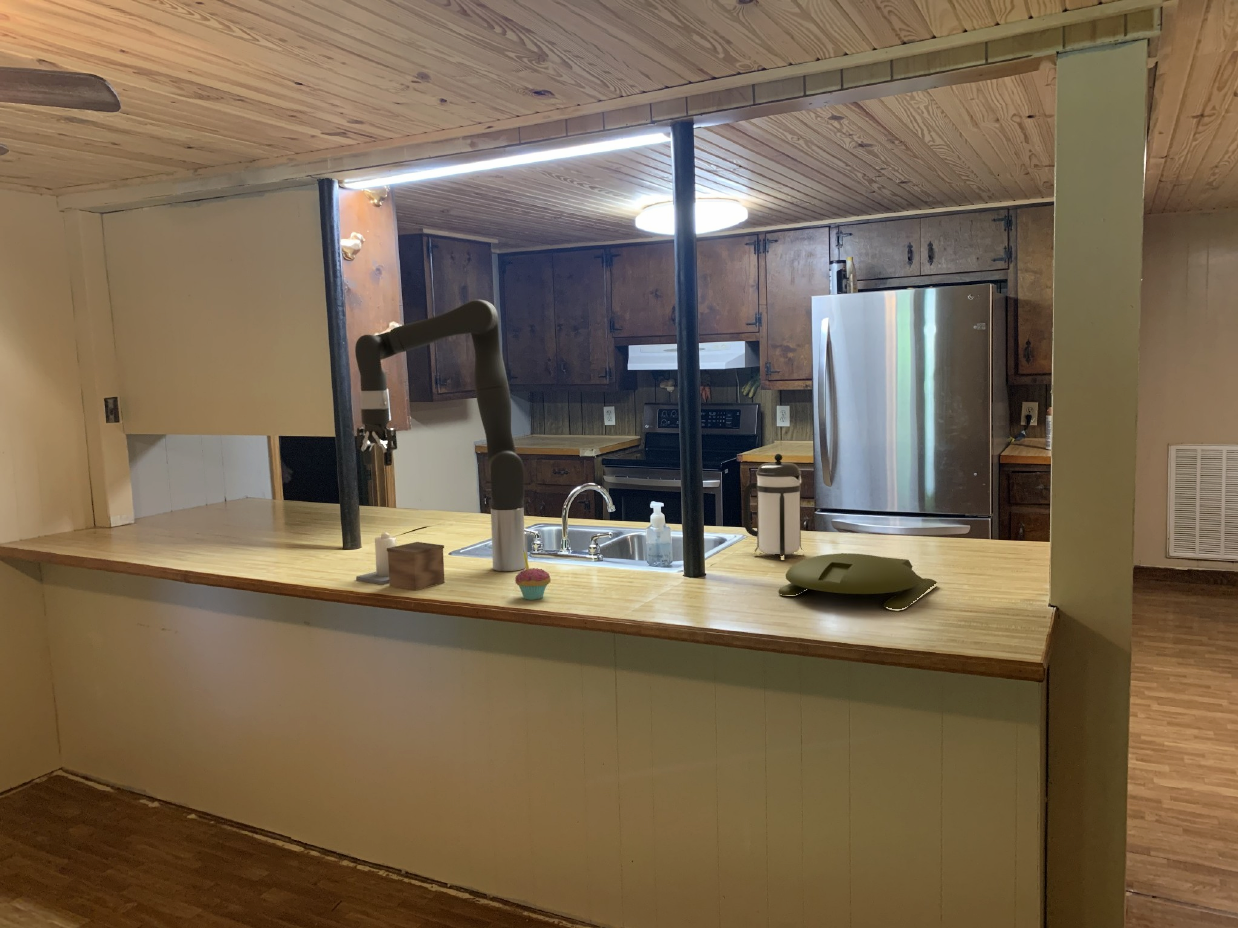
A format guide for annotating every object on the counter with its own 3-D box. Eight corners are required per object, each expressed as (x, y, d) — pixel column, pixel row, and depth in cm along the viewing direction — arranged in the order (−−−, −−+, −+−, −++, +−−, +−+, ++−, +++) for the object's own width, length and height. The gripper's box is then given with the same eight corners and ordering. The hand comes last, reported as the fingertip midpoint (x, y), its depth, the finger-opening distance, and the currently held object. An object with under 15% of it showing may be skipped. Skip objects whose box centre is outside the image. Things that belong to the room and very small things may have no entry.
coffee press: (801, 550, 269) (801, 451, 266) (807, 561, 253) (807, 455, 250) (743, 550, 270) (742, 451, 268) (745, 561, 255) (744, 456, 252)
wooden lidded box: (418, 578, 242) (416, 541, 242) (445, 582, 236) (444, 545, 236) (388, 585, 234) (386, 548, 233) (415, 590, 228) (413, 551, 227)
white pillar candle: (388, 571, 247) (386, 529, 246) (401, 573, 244) (400, 531, 243) (372, 574, 243) (370, 532, 242) (385, 577, 240) (383, 534, 239)
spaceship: (821, 574, 238) (821, 538, 237) (940, 588, 220) (940, 548, 219) (763, 603, 209) (763, 562, 208) (894, 621, 192) (894, 576, 191)
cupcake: (518, 602, 213) (517, 553, 212) (513, 594, 221) (511, 547, 220) (554, 599, 216) (552, 550, 214) (547, 591, 224) (545, 544, 223)
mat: (391, 571, 252) (390, 568, 252) (417, 575, 245) (417, 572, 245) (356, 579, 242) (356, 576, 242) (383, 584, 236) (383, 580, 235)
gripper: (347, 407, 250) (350, 465, 252) (381, 407, 242) (383, 467, 244) (369, 406, 256) (371, 462, 258) (402, 406, 248) (405, 464, 250)
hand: (377, 465), depth 251 cm, fingers open, 8 cm apart
